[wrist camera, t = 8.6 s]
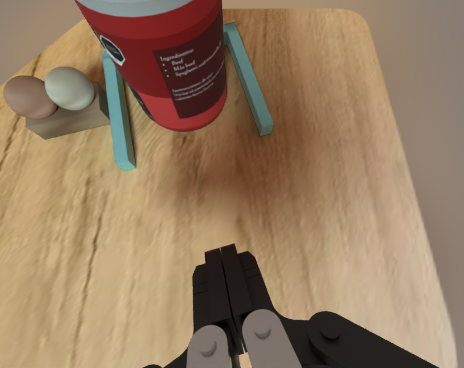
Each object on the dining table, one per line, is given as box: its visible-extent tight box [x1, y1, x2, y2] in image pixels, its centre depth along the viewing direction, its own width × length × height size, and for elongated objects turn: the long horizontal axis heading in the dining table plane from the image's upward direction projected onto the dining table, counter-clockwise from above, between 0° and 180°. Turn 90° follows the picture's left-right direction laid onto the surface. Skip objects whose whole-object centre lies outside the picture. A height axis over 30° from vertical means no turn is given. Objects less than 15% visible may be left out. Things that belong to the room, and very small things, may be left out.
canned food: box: [75, 0, 227, 132], centre depth 16 cm, size 8×8×11 cm
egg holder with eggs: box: [3, 67, 110, 140], centre depth 19 cm, size 6×3×5 cm, turn 105°
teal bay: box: [102, 22, 274, 171], centre depth 21 cm, size 13×12×2 cm
